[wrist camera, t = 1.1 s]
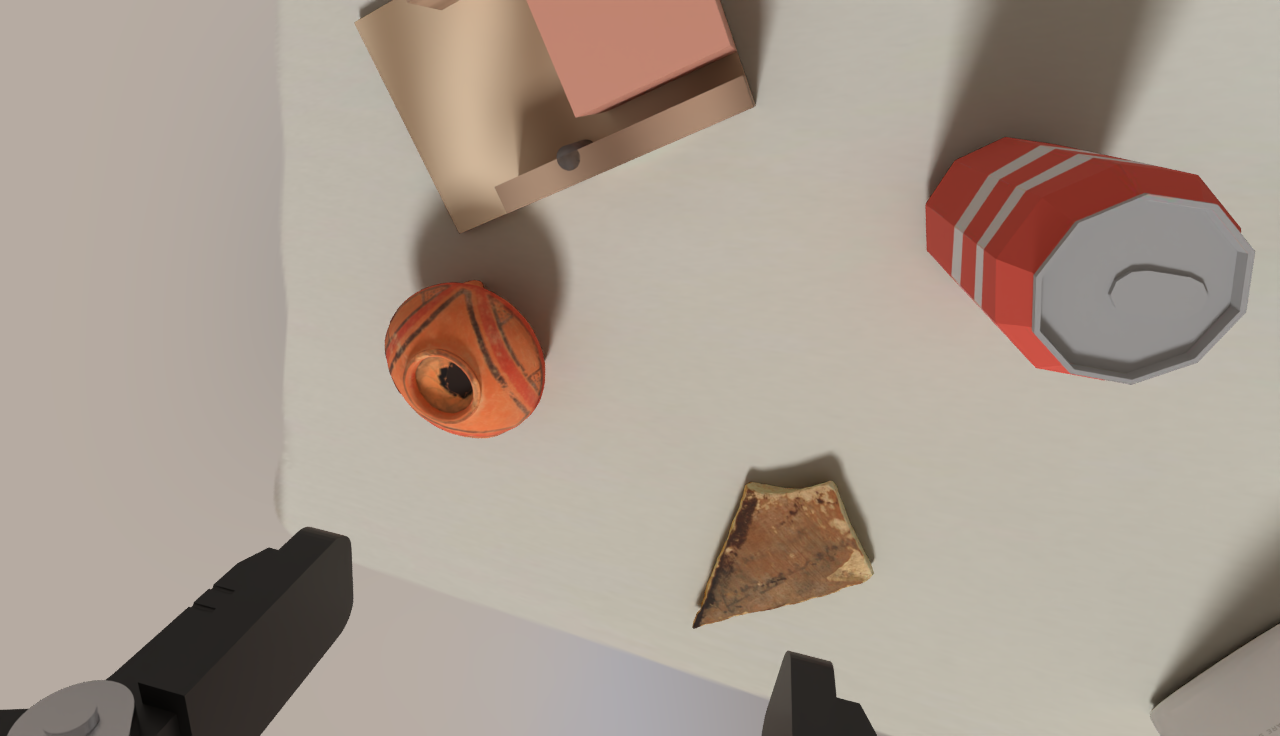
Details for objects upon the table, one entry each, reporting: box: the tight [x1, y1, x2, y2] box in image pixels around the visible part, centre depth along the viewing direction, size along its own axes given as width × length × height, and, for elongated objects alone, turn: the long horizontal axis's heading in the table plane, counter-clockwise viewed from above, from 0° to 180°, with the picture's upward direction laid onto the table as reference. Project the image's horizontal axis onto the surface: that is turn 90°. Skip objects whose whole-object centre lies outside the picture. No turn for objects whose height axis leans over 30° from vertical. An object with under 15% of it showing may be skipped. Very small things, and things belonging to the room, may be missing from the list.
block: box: [526, 0, 737, 117], centre depth 25 cm, size 6×6×5 cm
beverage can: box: [926, 137, 1255, 385], centre depth 23 cm, size 6×6×12 cm
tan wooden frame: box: [354, 0, 756, 234], centre depth 28 cm, size 15×10×4 cm, turn 113°
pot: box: [385, 280, 545, 438], centre depth 33 cm, size 8×8×7 cm
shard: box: [692, 481, 874, 629], centre depth 37 cm, size 11×8×2 cm
